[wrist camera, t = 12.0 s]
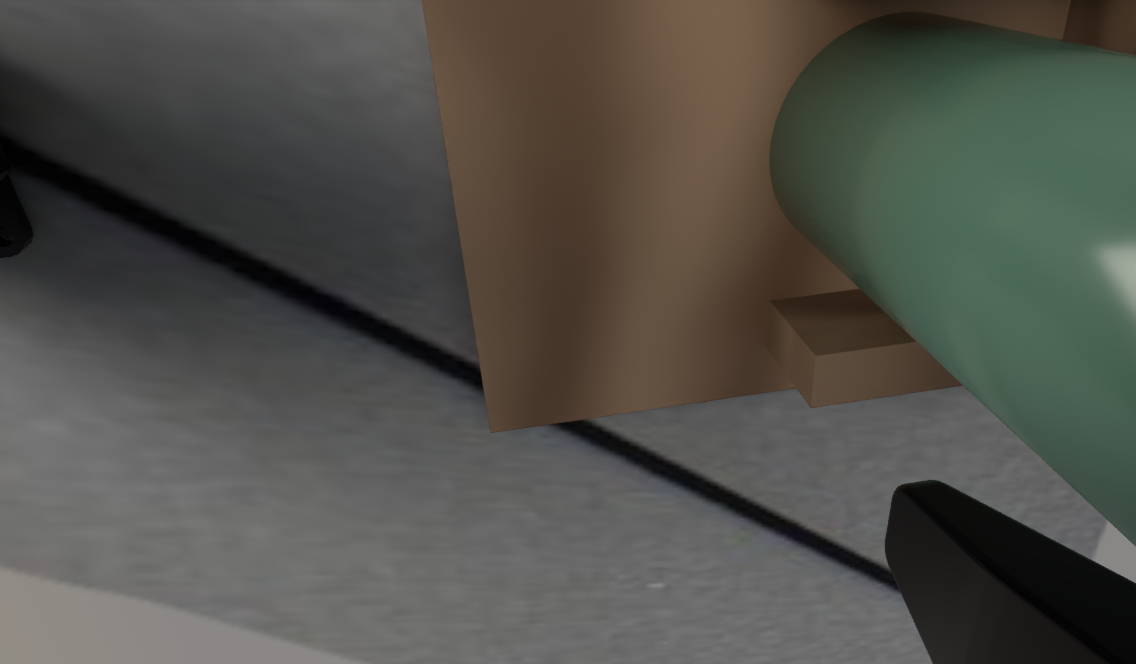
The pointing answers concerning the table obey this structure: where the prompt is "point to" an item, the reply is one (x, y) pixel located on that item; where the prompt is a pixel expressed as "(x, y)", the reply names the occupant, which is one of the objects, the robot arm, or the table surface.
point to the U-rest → (664, 200)
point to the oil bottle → (985, 220)
